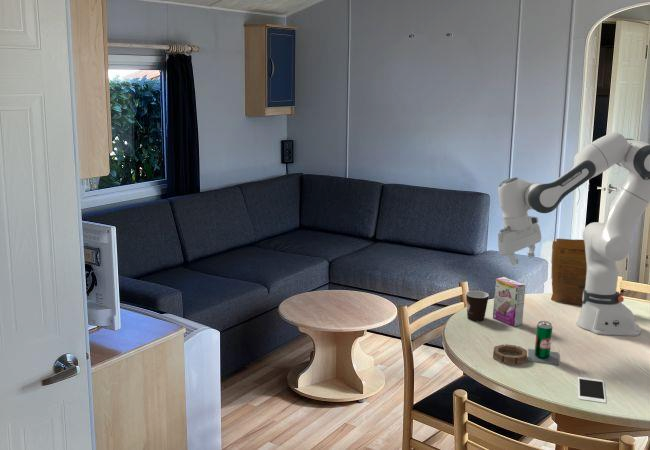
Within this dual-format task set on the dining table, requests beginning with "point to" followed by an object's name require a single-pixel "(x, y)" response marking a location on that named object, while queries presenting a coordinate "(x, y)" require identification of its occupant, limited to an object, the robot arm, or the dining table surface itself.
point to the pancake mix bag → (568, 271)
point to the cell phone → (591, 390)
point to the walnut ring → (510, 359)
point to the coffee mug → (476, 305)
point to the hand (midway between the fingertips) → (523, 260)
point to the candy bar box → (509, 301)
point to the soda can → (543, 339)
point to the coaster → (550, 360)
